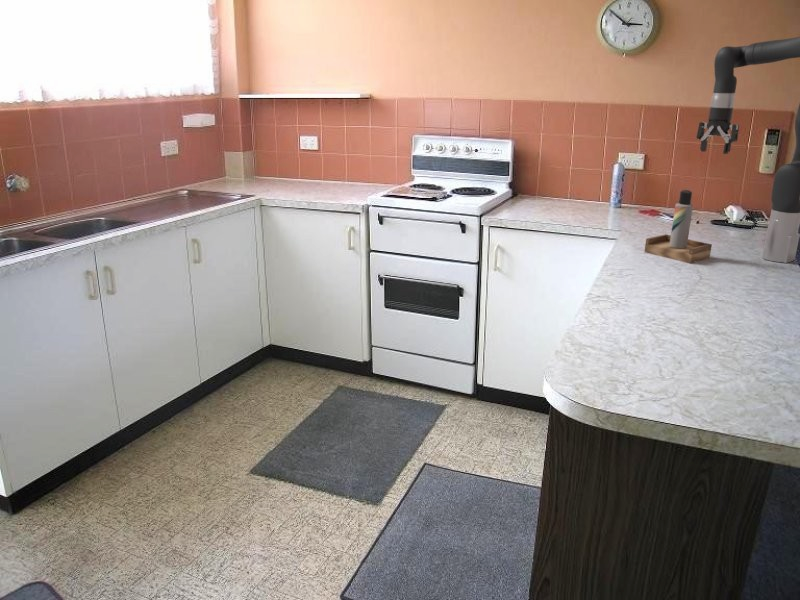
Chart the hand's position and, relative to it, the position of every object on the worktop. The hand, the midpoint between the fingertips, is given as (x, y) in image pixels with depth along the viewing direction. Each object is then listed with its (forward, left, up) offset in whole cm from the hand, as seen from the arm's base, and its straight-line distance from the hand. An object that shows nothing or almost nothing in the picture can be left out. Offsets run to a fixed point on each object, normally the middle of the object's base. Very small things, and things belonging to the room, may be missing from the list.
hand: (714, 152), depth 243 cm
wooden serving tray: (-5, +23, -34) cm, 41 cm away
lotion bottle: (-5, +23, -31) cm, 39 cm away
